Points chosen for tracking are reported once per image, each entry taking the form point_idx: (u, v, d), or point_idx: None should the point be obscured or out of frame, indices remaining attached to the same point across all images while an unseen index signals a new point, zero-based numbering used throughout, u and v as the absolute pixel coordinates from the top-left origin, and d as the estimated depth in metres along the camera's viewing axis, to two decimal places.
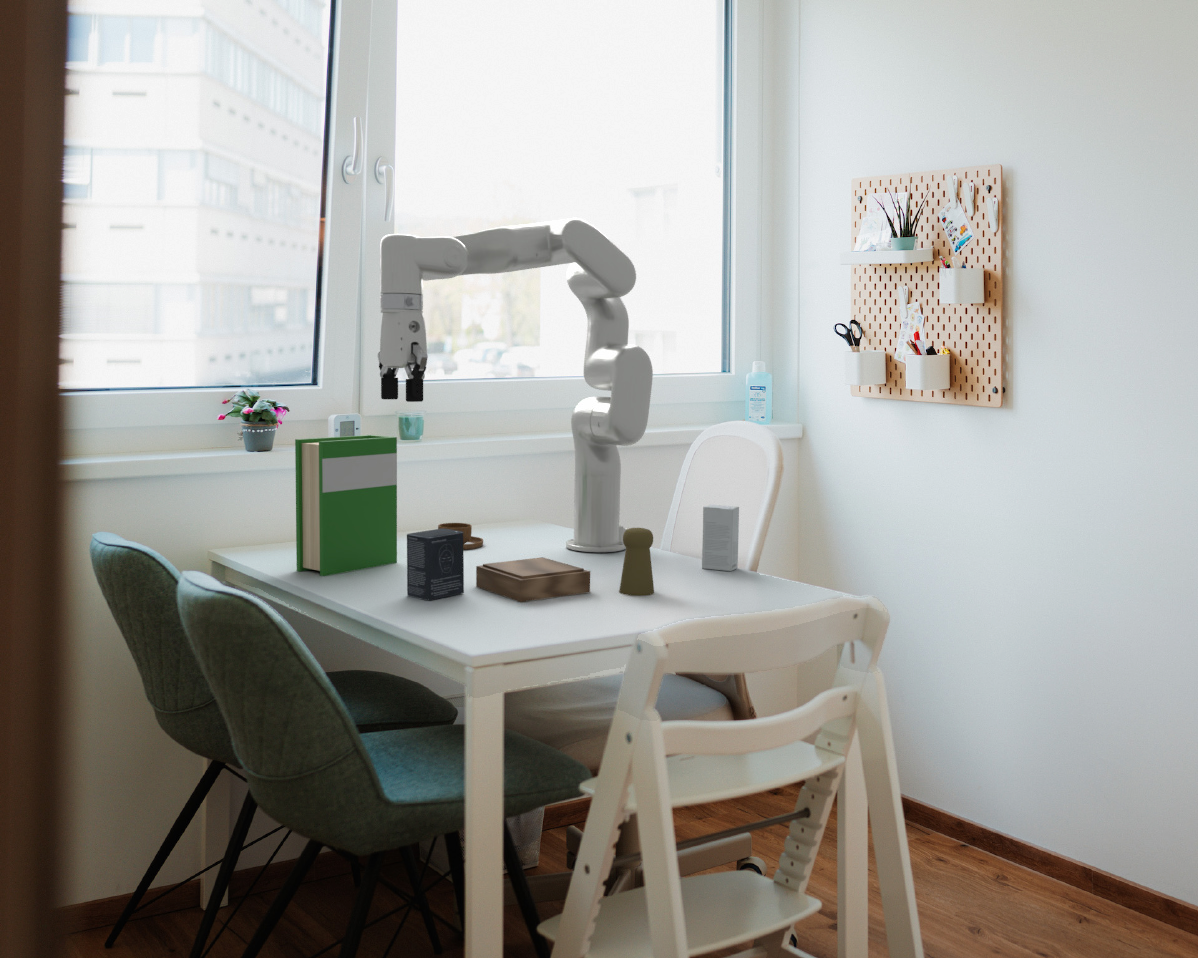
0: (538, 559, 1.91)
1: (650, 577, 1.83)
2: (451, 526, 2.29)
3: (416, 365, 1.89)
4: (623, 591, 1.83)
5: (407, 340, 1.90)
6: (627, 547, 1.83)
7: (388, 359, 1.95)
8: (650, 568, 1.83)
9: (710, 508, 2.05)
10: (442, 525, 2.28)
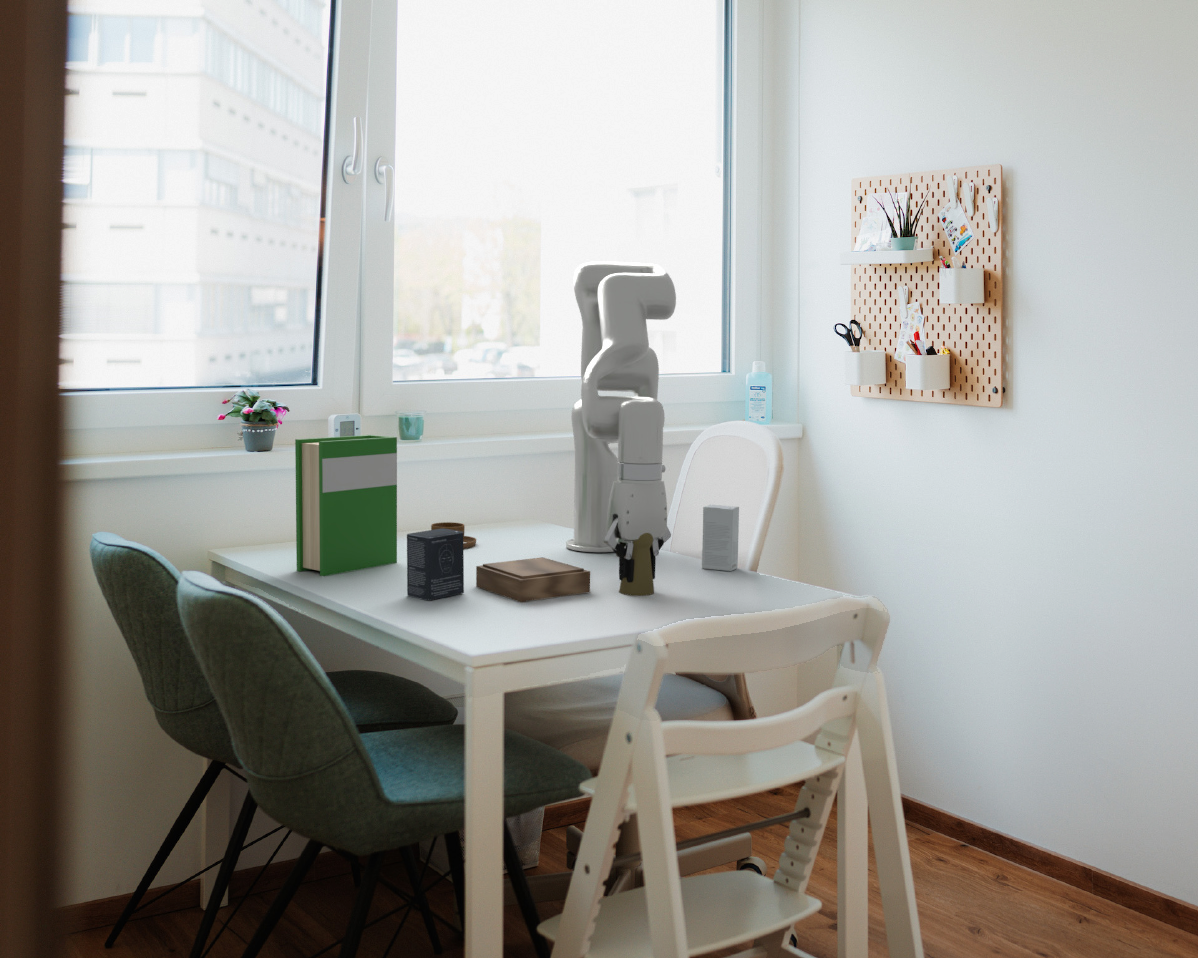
0: (538, 559, 1.91)
1: (650, 577, 1.83)
2: (446, 525, 2.30)
3: (662, 540, 1.86)
4: (623, 591, 1.83)
5: None
6: None
7: (642, 532, 1.81)
8: (650, 568, 1.83)
9: (710, 508, 2.05)
10: (436, 524, 2.28)
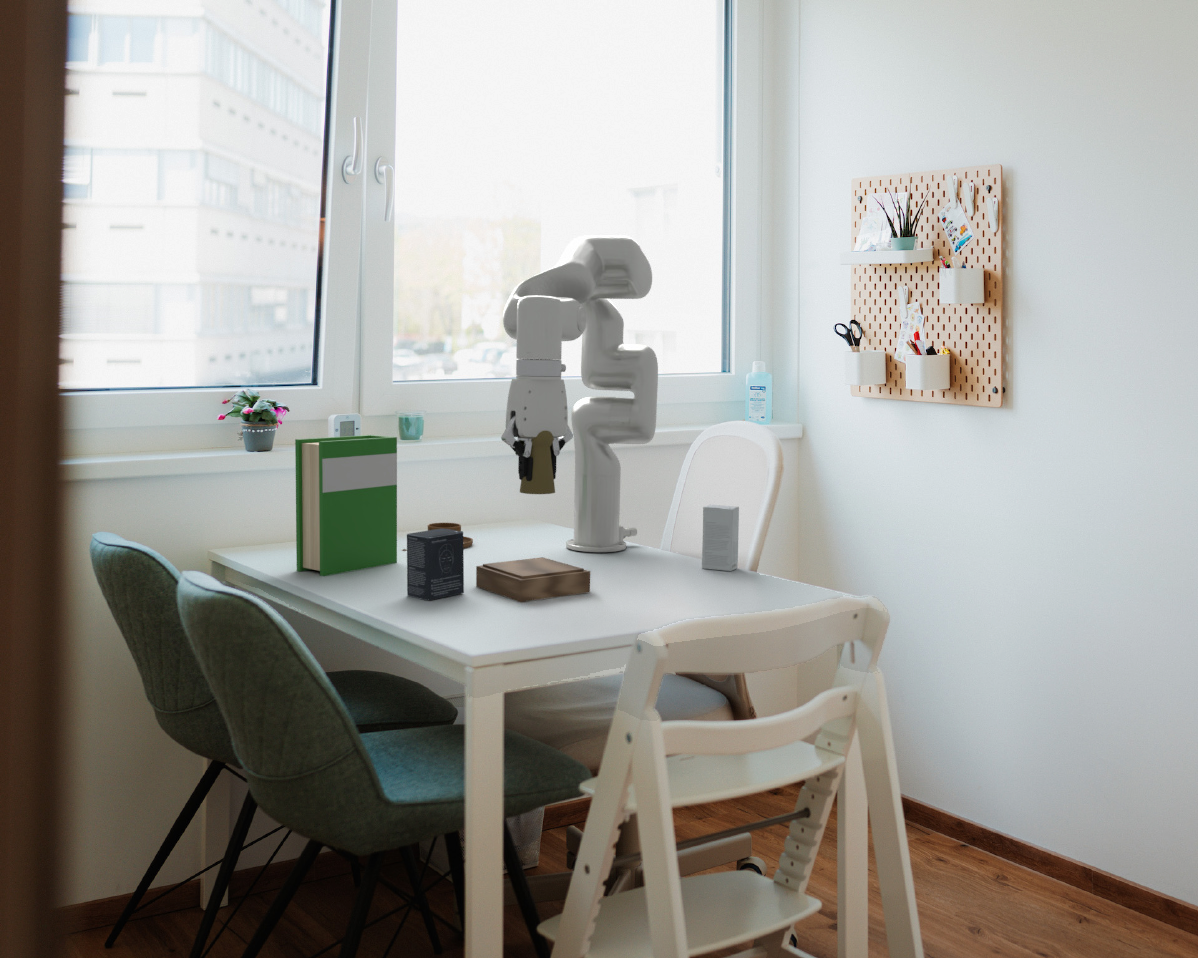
0: (538, 559, 1.91)
1: (550, 476, 1.82)
2: (443, 526, 2.30)
3: (563, 441, 1.85)
4: (523, 490, 1.81)
5: None
6: None
7: (540, 430, 1.80)
8: (550, 467, 1.82)
9: (710, 508, 2.05)
10: (433, 525, 2.28)
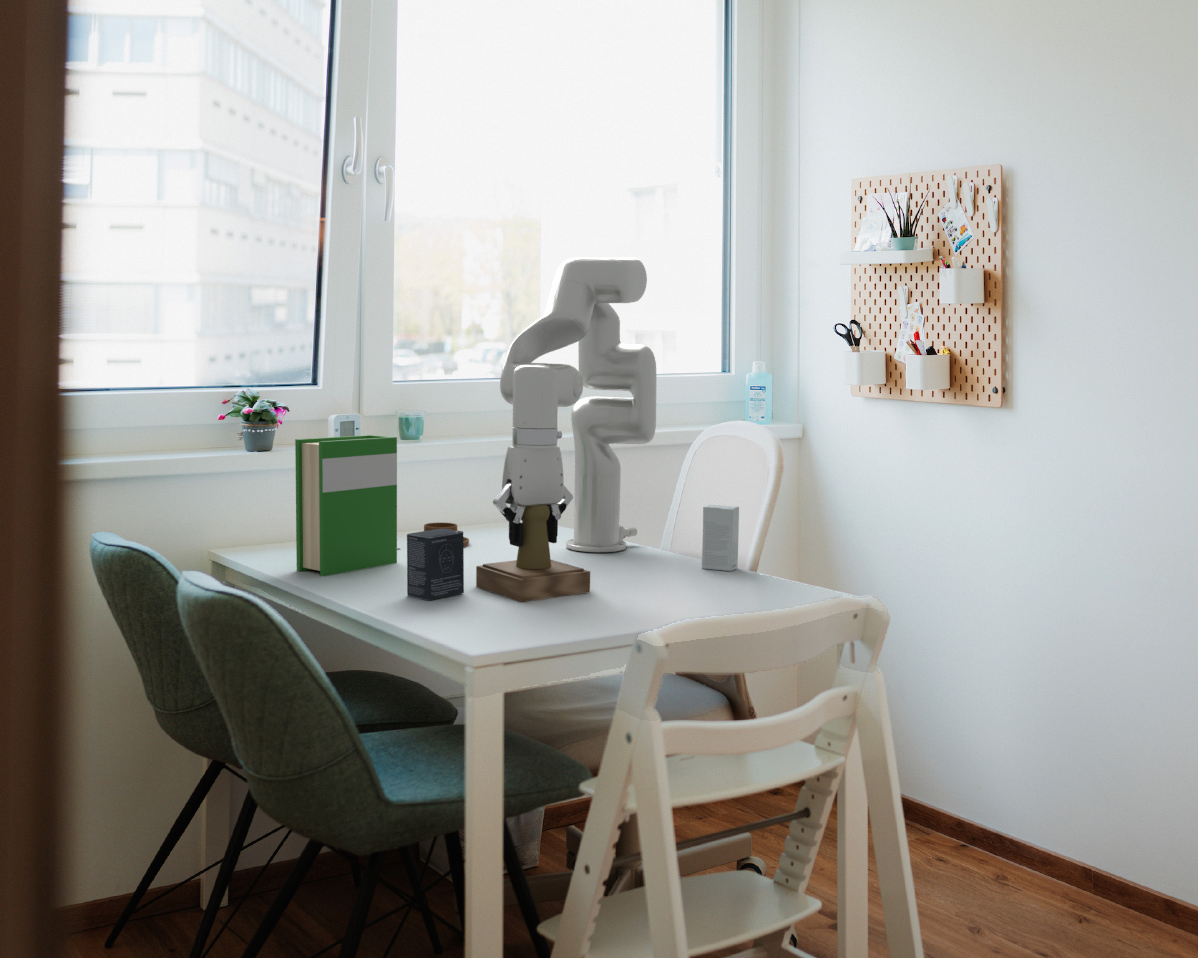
0: None
1: (546, 551, 1.83)
2: (441, 526, 2.30)
3: (564, 504, 1.86)
4: (519, 565, 1.83)
5: None
6: (523, 520, 1.83)
7: (536, 497, 1.81)
8: (546, 541, 1.83)
9: (710, 508, 2.05)
10: (431, 524, 2.29)
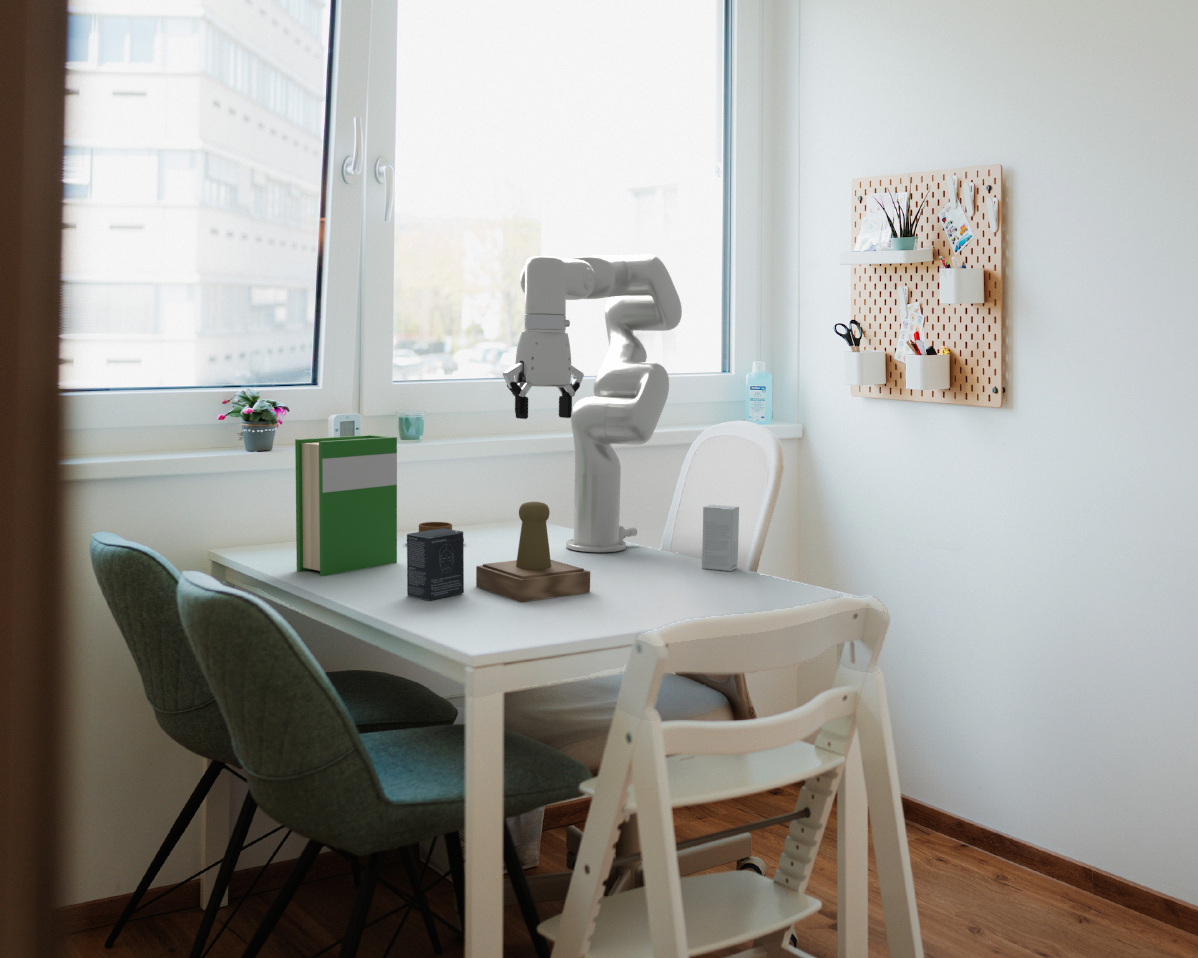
0: None
1: (546, 551, 1.83)
2: (437, 525, 2.30)
3: (578, 383, 2.04)
4: (519, 565, 1.83)
5: None
6: (523, 521, 1.83)
7: (546, 378, 1.98)
8: (546, 542, 1.83)
9: (710, 508, 2.05)
10: (427, 523, 2.29)
